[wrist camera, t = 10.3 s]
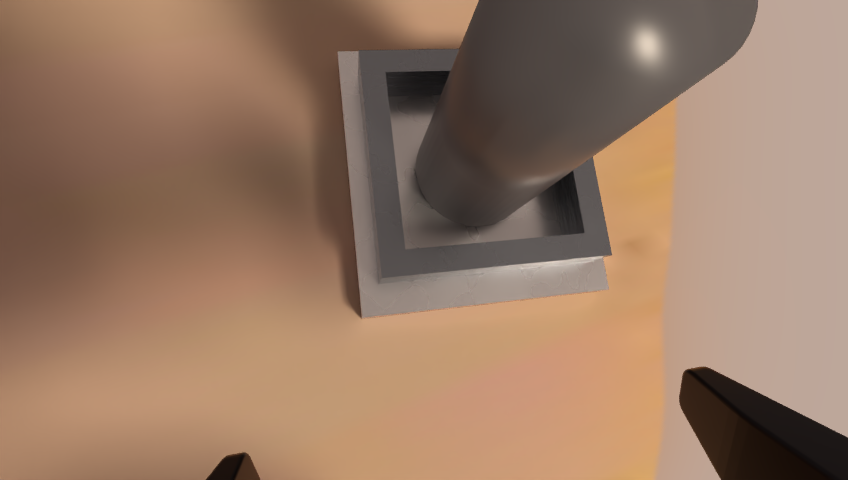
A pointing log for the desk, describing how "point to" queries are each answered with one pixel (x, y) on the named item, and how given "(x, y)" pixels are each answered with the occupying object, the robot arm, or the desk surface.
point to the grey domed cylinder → (560, 91)
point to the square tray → (433, 233)
